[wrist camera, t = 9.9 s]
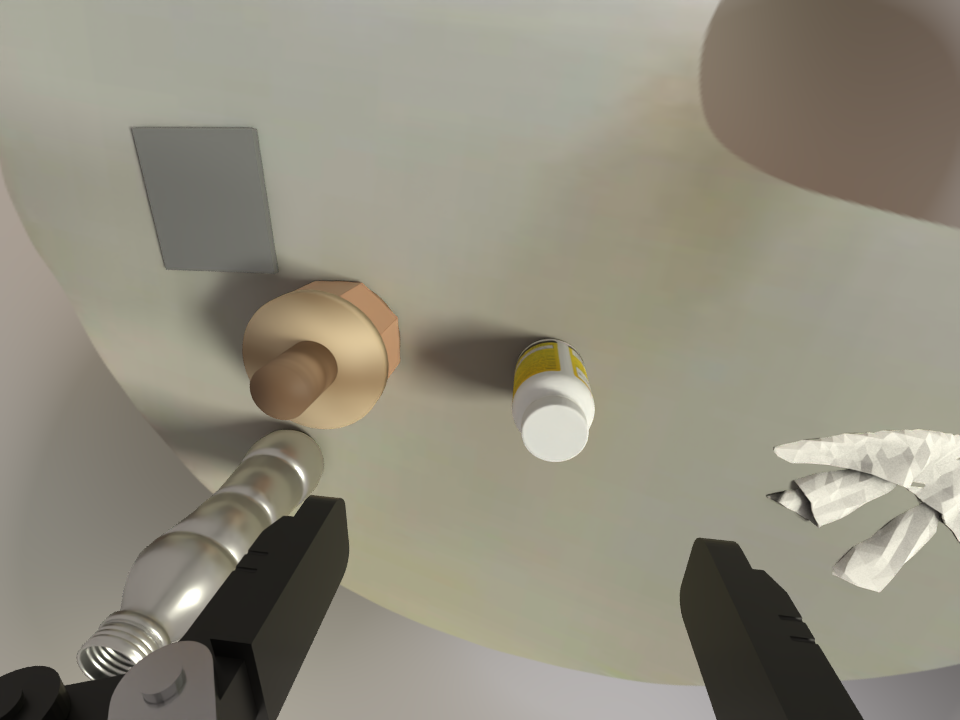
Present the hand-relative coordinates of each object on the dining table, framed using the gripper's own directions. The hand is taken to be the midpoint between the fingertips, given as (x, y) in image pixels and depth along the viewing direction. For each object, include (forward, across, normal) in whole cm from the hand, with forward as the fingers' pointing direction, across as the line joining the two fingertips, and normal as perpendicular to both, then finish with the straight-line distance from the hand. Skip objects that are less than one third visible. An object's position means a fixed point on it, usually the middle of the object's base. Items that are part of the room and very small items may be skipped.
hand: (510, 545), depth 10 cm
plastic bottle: (+25, +20, +17) cm, 36 cm away
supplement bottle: (+25, -2, +6) cm, 26 cm away
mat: (+25, +24, -5) cm, 35 cm away
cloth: (+26, -30, +17) cm, 43 cm away
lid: (+20, +14, +5) cm, 25 cm away
